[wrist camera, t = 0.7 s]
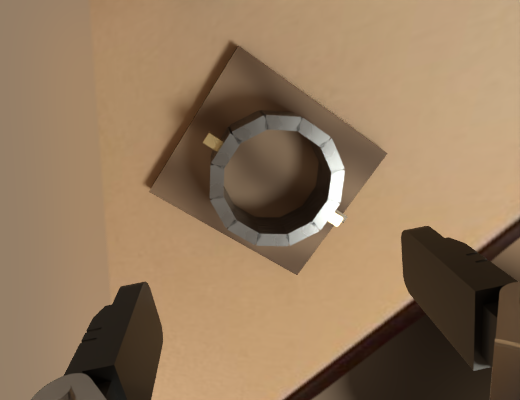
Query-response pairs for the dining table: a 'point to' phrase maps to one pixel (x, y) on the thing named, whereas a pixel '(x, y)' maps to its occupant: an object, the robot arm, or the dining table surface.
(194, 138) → the base plate
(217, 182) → the ring
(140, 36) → the dining table surface
